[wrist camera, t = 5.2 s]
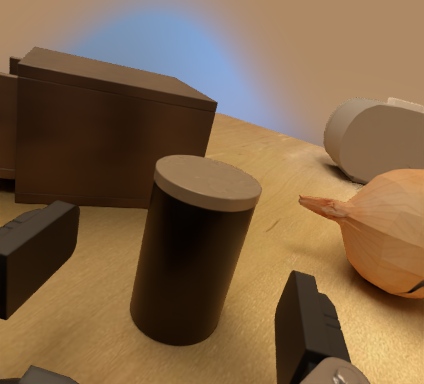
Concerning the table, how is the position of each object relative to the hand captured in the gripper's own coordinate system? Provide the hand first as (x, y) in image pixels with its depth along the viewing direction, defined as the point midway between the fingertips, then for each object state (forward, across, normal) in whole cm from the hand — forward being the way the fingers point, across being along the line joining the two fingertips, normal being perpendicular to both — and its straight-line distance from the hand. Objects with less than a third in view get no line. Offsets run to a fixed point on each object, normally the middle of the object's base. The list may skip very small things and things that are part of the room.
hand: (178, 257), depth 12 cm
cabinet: (+18, +11, +6) cm, 22 cm away
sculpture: (+14, -14, +6) cm, 20 cm away
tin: (+4, 0, +6) cm, 7 cm away
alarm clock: (+47, -25, +6) cm, 54 cm away
